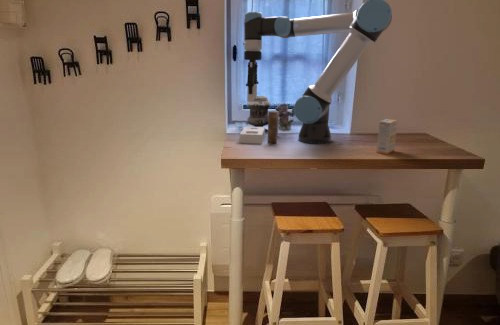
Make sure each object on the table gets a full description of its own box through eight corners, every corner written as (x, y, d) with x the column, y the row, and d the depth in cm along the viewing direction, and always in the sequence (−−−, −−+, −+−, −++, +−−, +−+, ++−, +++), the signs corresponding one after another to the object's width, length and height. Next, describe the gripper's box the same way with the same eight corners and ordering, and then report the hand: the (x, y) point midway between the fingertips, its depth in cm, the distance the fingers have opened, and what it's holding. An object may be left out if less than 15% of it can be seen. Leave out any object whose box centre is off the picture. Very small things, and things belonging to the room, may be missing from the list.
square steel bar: (277, 135, 182) (278, 111, 179) (277, 137, 178) (278, 112, 175) (269, 135, 183) (270, 111, 179) (269, 137, 179) (269, 112, 176)
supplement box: (383, 149, 157) (386, 118, 154) (394, 150, 154) (398, 119, 151) (375, 152, 151) (379, 120, 148) (387, 154, 148) (391, 122, 145)
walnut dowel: (276, 141, 169) (277, 111, 165) (276, 143, 165) (277, 112, 161) (268, 141, 169) (268, 111, 166) (267, 143, 165) (268, 112, 162)
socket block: (264, 134, 184) (265, 126, 183) (261, 143, 165) (261, 134, 164) (245, 134, 185) (245, 126, 184) (239, 142, 166) (239, 134, 165)
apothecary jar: (259, 128, 202) (260, 94, 197) (274, 131, 193) (275, 96, 188) (242, 130, 195) (242, 96, 190) (257, 134, 186) (258, 98, 181)
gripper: (247, 51, 172) (247, 97, 177) (240, 49, 148) (240, 102, 153) (263, 51, 171) (262, 97, 177) (259, 49, 147) (258, 103, 153)
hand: (252, 100), depth 165 cm, fingers open, 13 cm apart
